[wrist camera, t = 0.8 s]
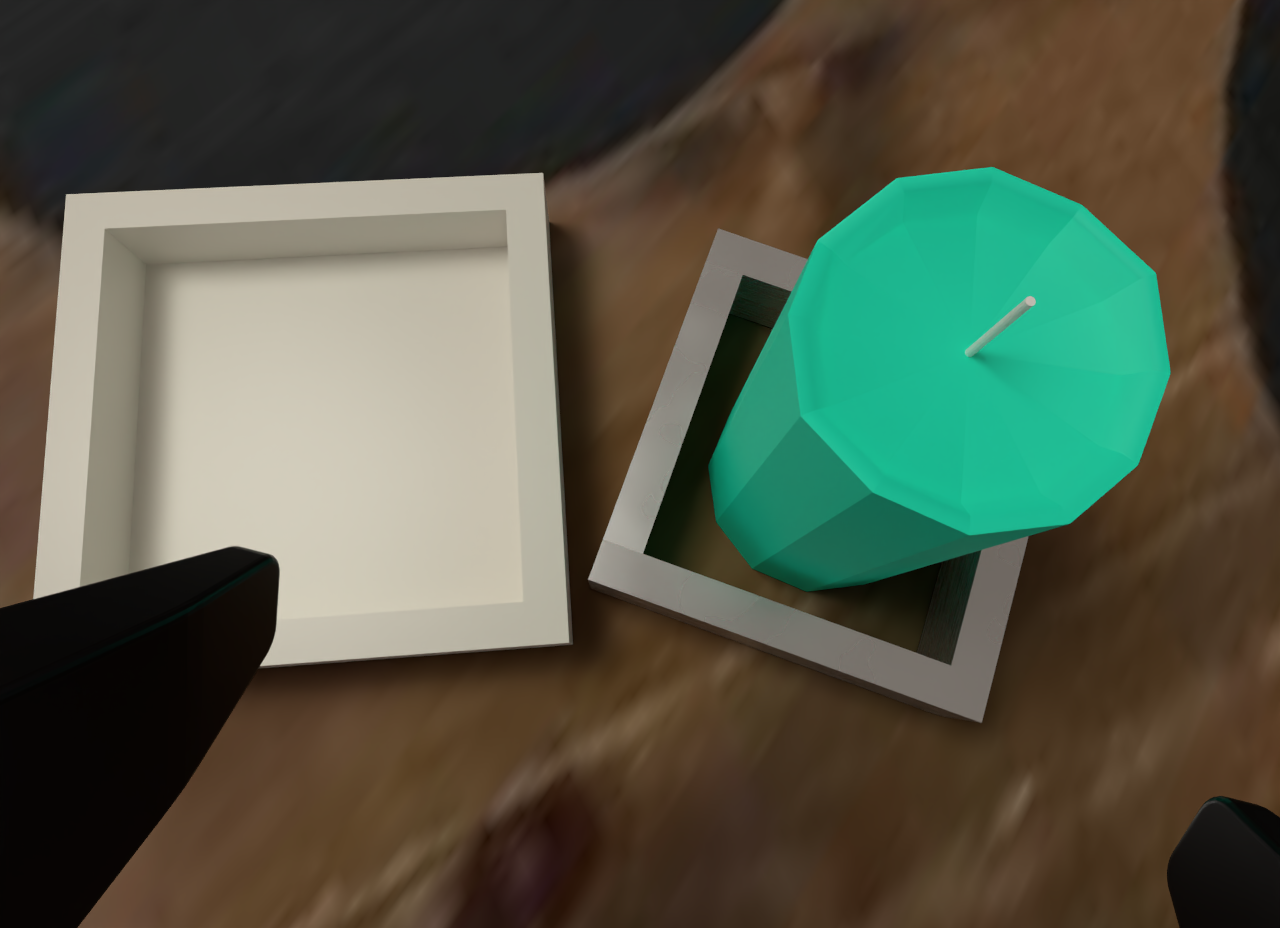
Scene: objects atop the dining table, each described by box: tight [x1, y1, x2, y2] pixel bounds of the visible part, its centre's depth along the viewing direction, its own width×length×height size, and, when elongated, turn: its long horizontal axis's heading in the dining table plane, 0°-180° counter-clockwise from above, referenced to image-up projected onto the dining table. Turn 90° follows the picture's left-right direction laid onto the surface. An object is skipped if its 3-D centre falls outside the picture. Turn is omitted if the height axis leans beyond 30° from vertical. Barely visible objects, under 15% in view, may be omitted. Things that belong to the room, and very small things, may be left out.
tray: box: [33, 173, 573, 669], centre depth 22 cm, size 12×12×2 cm
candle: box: [708, 167, 1171, 592], centre depth 17 cm, size 6×6×12 cm
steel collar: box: [588, 229, 1029, 723], centre depth 22 cm, size 10×10×2 cm
